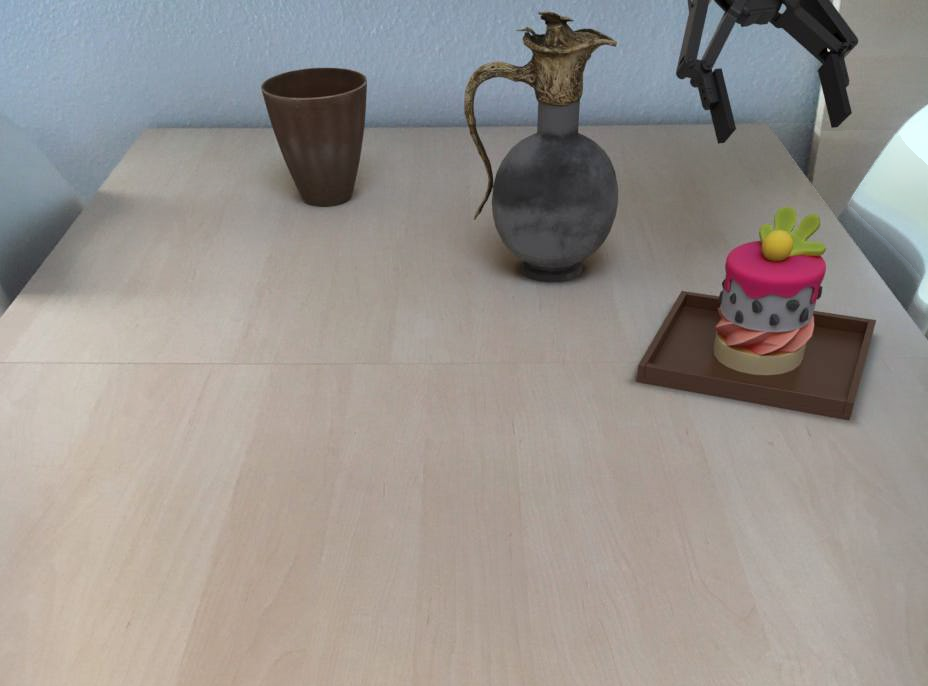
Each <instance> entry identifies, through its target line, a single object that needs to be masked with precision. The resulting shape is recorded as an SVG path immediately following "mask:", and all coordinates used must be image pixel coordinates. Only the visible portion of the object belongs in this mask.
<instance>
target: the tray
mask: <svg viewBox="0 0 928 686" xmlns="http://www.w3.org/2000/svg"><path fill="white" fill-rule="evenodd" d="M718 298H719V295H713V294H708V293H707V294H705V293H699V292H694V291H686V290H681V291H680V293H679V294H678V296H677V298H676V299H675V302H674V303H673V304H672V307H671V308H670V309H669V311H668V313H667V315H666V317H665V318H664V320H663V322H662V324H661V325H660V327H659V328H658V330H657V332H656V334H655V336H654V337H653V339H652V341H651V342H650V344H649V346H648V348H647V350H646V351H645V353H644V355H643V356H642V358H641V360H640V362H639V363H638V365H637V372H636V373H637V374H636V383H638V384H645V385H649V386H656V387H661V388H667V389H672V390H677V391H683V392H688V393H694V394H699V395H705V396H710V397H716V398H721V399H727V400H733V401H738V402H744V403H749V404H755V405H761V406H766V407H771V408H777V409H782V410H783V409H784V410H788V411H794V412H798V413H799V412H800V413H804V414H811V415H814V416H815V415H816V416H822V417H827V418H833V419H839V420H844V421H850V420H851V417H852V413H853V409H854V406H855V402H856V398H857V395H858V391H859V387H860V383H861V380H862V376H863V372H864V369H865V364H866V361H867V357H868V354H869V349H870V347H871V341H872V339H873V335H874V331H875V327H876V323H877V320H876V319H874V318H873V319H871V318H865V317H858V316H852V315H846V314H838V313H832V312H826V311H820V310H819V311H818V310H814V313H813V316H814V329H813V334H812V337H811V338H810V339H809V340H808V341H807V343H806V347H805V352H804V356H803V359H802V362H801V364H800V365H799V366H798V367H796V368H795V369H794V370H792V371H789V372H786V373H783V374H776V375H753V374H748V373H743V372H739V371H736V370H734V369H731V368H728V367H727V366H725V365H724V364H722V363H721V362H719V361H718V359H717V358H716V357H715V355H714V349H713V348H714V342H715V336H716V330H715V329H714V328H715V327H716V326H717V324H718V323H719V322H720V320H721V317H720V315H719V313H718V309H717V308H720V306H721V303H720V302H719V301H718Z"/></svg>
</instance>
